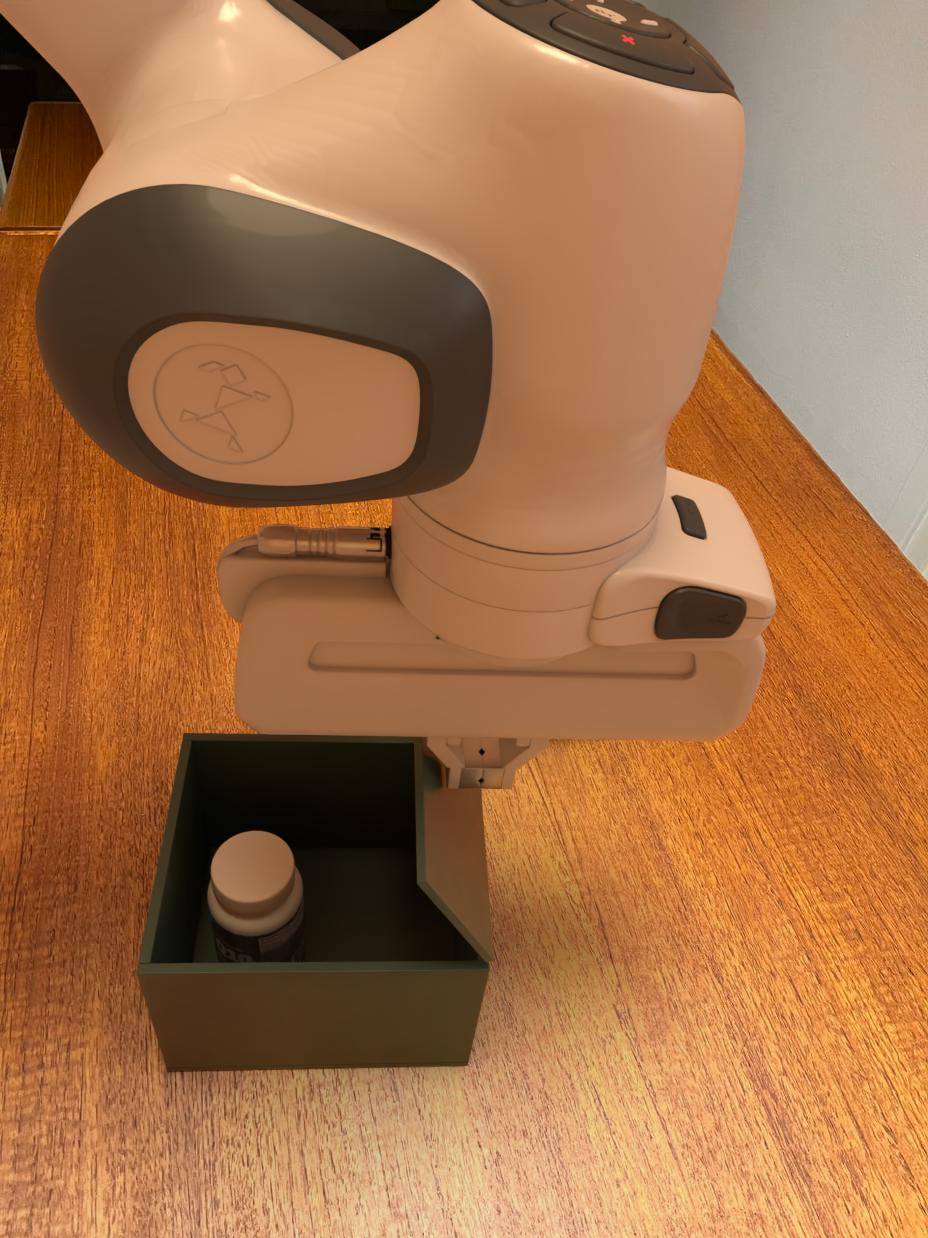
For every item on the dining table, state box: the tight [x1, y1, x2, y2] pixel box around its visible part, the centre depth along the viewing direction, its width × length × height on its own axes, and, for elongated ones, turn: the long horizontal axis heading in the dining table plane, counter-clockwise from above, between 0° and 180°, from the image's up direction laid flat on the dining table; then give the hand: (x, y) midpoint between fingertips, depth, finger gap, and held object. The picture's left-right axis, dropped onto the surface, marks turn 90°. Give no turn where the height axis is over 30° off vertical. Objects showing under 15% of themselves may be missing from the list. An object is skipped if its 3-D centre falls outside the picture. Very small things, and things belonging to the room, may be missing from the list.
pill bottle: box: [207, 831, 305, 963], centre depth 50 cm, size 5×5×8 cm
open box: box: [136, 732, 491, 1072], centre depth 50 cm, size 15×13×10 cm
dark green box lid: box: [414, 737, 495, 963], centre depth 44 cm, size 7×13×1 cm
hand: (477, 776), depth 43 cm, fingers closed
